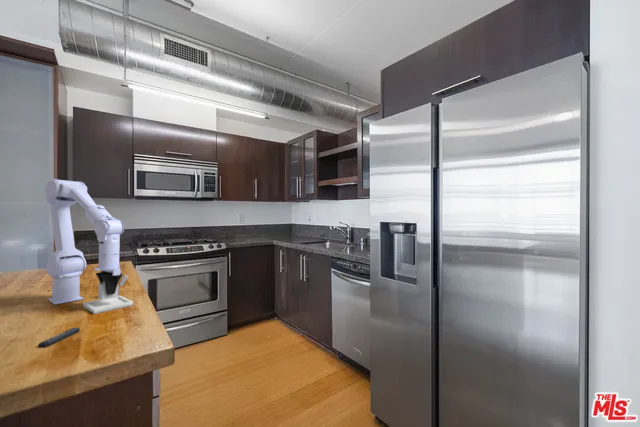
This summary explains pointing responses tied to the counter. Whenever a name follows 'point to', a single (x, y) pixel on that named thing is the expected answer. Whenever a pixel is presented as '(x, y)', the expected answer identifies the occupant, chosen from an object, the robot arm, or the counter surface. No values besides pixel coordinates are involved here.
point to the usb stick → (59, 337)
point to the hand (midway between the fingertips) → (108, 293)
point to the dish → (107, 304)
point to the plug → (103, 294)
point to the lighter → (122, 282)
